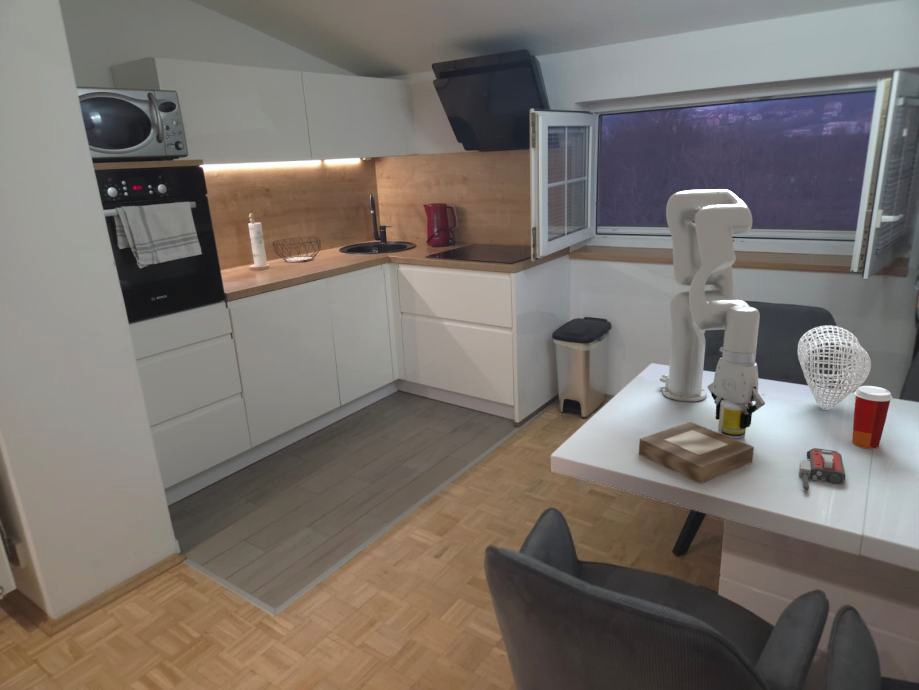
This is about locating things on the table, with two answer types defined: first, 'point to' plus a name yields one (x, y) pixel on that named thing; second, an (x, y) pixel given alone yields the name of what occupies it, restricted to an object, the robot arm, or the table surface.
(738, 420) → the pill bottle
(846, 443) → the table surface
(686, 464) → the stand
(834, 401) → the heart
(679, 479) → the table surface
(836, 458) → the walkie-talkie
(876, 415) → the paper cup
